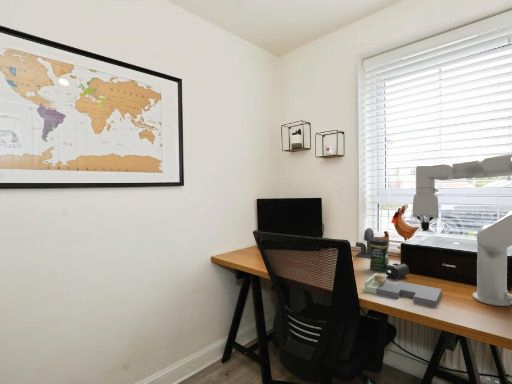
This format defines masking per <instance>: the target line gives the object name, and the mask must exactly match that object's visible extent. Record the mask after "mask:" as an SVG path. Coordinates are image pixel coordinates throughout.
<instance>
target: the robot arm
mask: <svg viewBox="0 0 512 384" xmlns="http://www.w3.org/2000/svg"><path fill="white" fill-rule="evenodd" d="M509 176H512V153H510V154H501V155H500V154H499V155H495V156H494V155H493V156H484V157H479V158H476V159H474V160H469V161H461V162H454V163H453V162H452V163H451V162H450V163H446V162H444V163H442V162H441V163H437V164H419V165H417V166H416V167H415V193H414V195H413V200H412V201H413V202H412V216H411V217H412V218H415V219H418V220H419V222H421V223H420V225H421V229H422V232H424V231H425V232H428V230H430V222H431V221H432V220H437V219H439V218H440V217H439V198H438V195H437V193H438V192H439V189H438V188H436V185H435V184H436V180H438V181H450V180H451V181H452V180H463V179H476V178H477V179H484V178H498V177H509ZM436 192H437V193H436ZM424 217H426V220H425V218H424ZM476 241H477V242H476V243H477V246H476V247H477V248H476V249H477V251H476V252H477V253H476V254H477V256H476V257H477V259H476V292H473V293H472V298H473V299H474V300H476V301H478V302H480V303H483V304H485V305H490V306H495V307H496V306H497V307H509V306H511V305H512V294H511V293H509V291H508V285H507V283H508V281H507V279H508V275H507V274H508V248H510V247H511V246H512V210H510V211H508V212H507V213H505V215H504V216H503V217H501V218H499V220H496V221H495V222H493V223H492V224H491V223H490V224H485V225H482V226H481V227H480V228H479V229H478V230H477V233H476Z"/></svg>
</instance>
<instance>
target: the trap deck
mask: <svg viewBox="0 0 512 384" xmlns="http://www.w3.org/2000/svg"><path fill="white" fill-rule="evenodd" d="M376 273H377V272H375V273H374V274H372V275H371V276H370V277H369V278H368V279H366V280H365V281H364V292H365V293H370V294H373V295H378V296H379V295H380V296H383V297H388V298H391V299H397V300H399V298H400V297H401V296H404V297H408V298H412V299H413V303H415V304H420V305H424V306H427V307H433V308H437V306H438V304H439V302H440V300H441V297H442V294H443V293H442V292H443V289H442V288H437V287H433V286H427V285H423V284H422V285H421V284H416V283H410V282H407V281H406V282H405V281H400V280H399V281H398V282H397V283H392V282H387V278H385V284H384V285H378V284H374V275H375V274H376Z"/></svg>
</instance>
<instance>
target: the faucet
mask: <svg viewBox="0 0 512 384" xmlns="http://www.w3.org/2000/svg"><path fill="white" fill-rule="evenodd" d="M373 237H375V234H374V230H373V229H372V228H370V227H368V228H366V229H365V230H364V234H363V240H364V241H366V244H365V243H364V242H359V241H356V242H355V247H356V248H360V251H358V253H356V255H355V258H363V259H370V260H371V247H370V240H371V238H373Z"/></svg>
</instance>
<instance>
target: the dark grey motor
mask: <svg viewBox="0 0 512 384" xmlns="http://www.w3.org/2000/svg"><path fill="white" fill-rule="evenodd" d="M386 270H389V271H390V272H389V271H388V272H385V278H386V279H388V280H389V279H390V280H393V281H394V280H397V279H400V278H403V277H406V276H407V275H409V273H410V268H409V266H408V265H407V264H406V263H392V265H390V264H389V265H387V266H386Z"/></svg>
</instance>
